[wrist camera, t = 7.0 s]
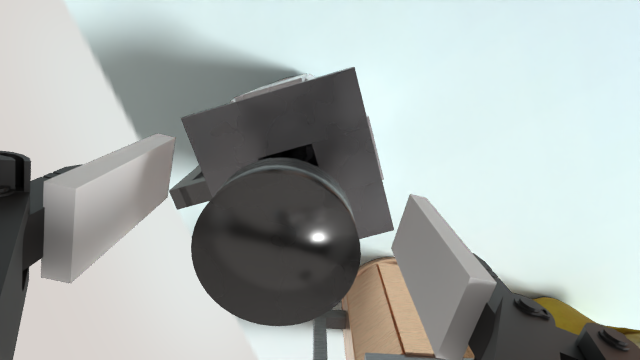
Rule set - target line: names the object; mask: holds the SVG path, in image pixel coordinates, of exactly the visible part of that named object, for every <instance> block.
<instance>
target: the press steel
mask: <svg viewBox="0 0 640 360" xmlns="http://www.w3.org/2000/svg"><path fill="white" fill-rule="evenodd" d="M181 120H182V122H183V125H184V127H185V130H186V132H187V135H188V137H189V140H190V142H191V145H192V147H193V150H194V152H195V155H196V157H197V160H198V163H199V166H198V167H196V168H195V169H194V170H193V171H192V172H191V173H189V174H188V175H187V176H186V177H185V178H183V179H182V180H181V181H180V182H179V183H178V184H176V185H175V186H174V187H173V188H172V189H171V190H169V192H170V194H171V196H172V199H173V201H174V203H175V206H176V208H177V210H178V209H181V208H185V207H189V206H192V205H196V204H200V203H203V202H207V201H210V200H211V199H212V198H213V197H214V195H215V194H216V193H217V191H218V190H219V189H220V188H221V186H222V185H223V184H224V183H225V181H226V180H227V179H228V178H229V177H230V176H231V175H233V174H234V173H235V172H236V171H238V170H239V169H241V168H242V167H244V166H246V165H248V164H250V163H253V162H256V161H259V160H263V159H267V157H266V156H268V155H272V154H275V153H279V152H283V151H286V150H290V149H293V148H297V147H300V146H304V145H307V144H311V143H312V146H313V149H314V153H315V156H316V159H317V163H318V166H319V168H320V169H322V170H323V171H325V172H326V173H327V174H329V175H330V176H331V177H332V178H333V179H334V180H335V181H336V182H337V183H338V184H339V185H340V187H341V188H342V189H343V191H344V192H345V194H346V196H347V198H348V200H349V202H350V205H351V208H352V212H353V216H354V220H355V224H356V228H357V232H358V237H359V239H361V238H365V237H369V236H373V235H377V234H381V233H385V232H388V231H392V230H394V228H393V224H392V220H391V215H390V211H389V207H388V203H387V199H386V195H385V191H384V187H383V182H382V180H384V178H383V174H382V170H381V166H380V162H379V158H378V153H377V149H376V145H375V141H374V137H373V133H372V129H371V124H370V120H369V116H368V115H367V114H366V112H365V108H364V104H363V100H362V96H361V92H360V88H359V84H358V80H357V76H356V71H355V67H351V68H347V69H344V70H341V71H337V72H334V73H330V74H327V75H324V76H320V77H317V78H316V77H315V76H313V75H311V74H309V75H307V73H306V74H302V75H299V76H292V77H288V78H284V79H282V80H279V81H277V82H275V83H272V84H269V85H265V86H262V87H260V88H257V89H255V90H252V91H250V92H247V93H244V94H242V95H239V96H237V97H234V99H233V100H231V101H230V103H229V104H225V105H222V106H218V107H215V108H212V109H208V110H205V111H201V112H198V113H195V114H191V115H188V116H185V117H183V118H181Z"/></svg>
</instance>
